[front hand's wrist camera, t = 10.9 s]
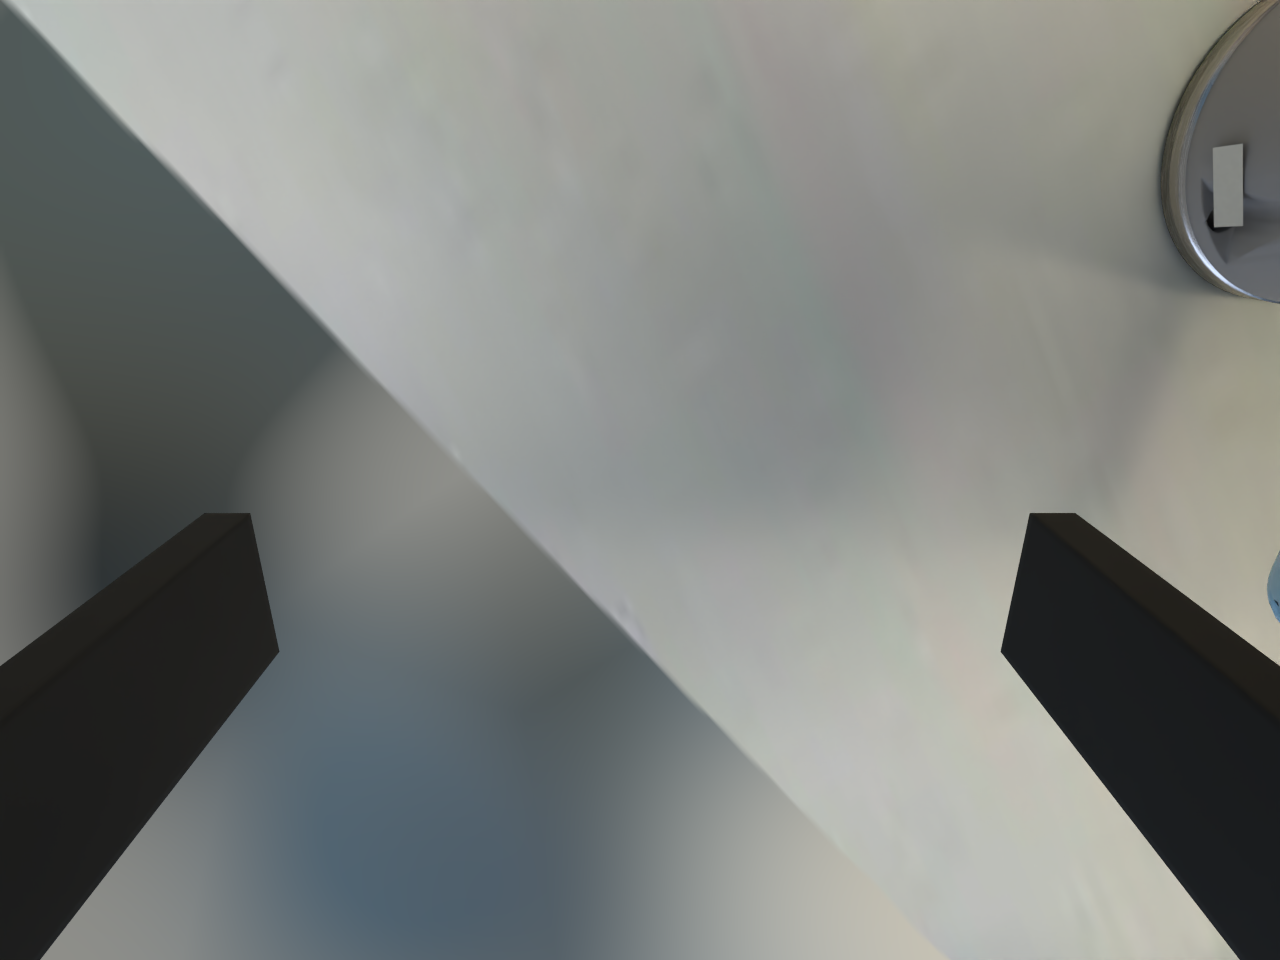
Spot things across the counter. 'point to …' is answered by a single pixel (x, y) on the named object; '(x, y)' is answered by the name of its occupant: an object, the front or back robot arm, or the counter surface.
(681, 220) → the counter surface
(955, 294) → the counter surface
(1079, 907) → the counter surface
